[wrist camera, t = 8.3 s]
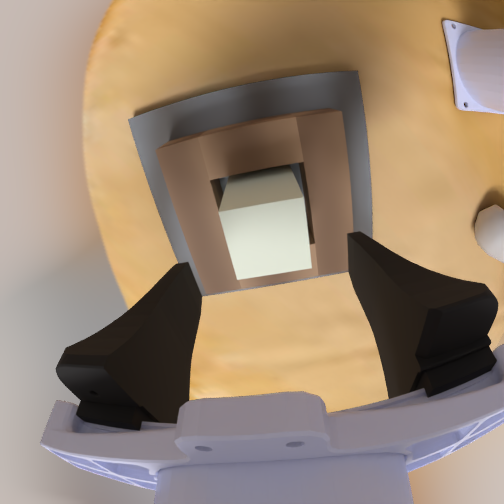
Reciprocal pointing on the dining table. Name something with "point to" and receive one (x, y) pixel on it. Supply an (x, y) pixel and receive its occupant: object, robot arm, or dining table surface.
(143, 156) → the socket
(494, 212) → the tube
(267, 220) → the peg
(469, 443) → the robot arm
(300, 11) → the dining table surface
